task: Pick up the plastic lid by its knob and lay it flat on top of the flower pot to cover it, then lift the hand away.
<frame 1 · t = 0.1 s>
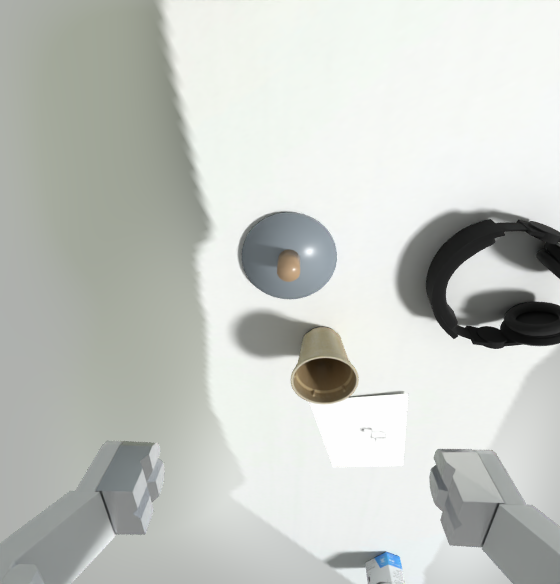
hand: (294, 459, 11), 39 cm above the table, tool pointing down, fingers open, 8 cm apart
paper sheet: (331, 431, 71), on the table
ink box: (381, 558, 97), on the table
flower pot: (321, 341, 58), on the table
lid: (289, 256, 51), on the table
headphones: (495, 275, 51), on the table
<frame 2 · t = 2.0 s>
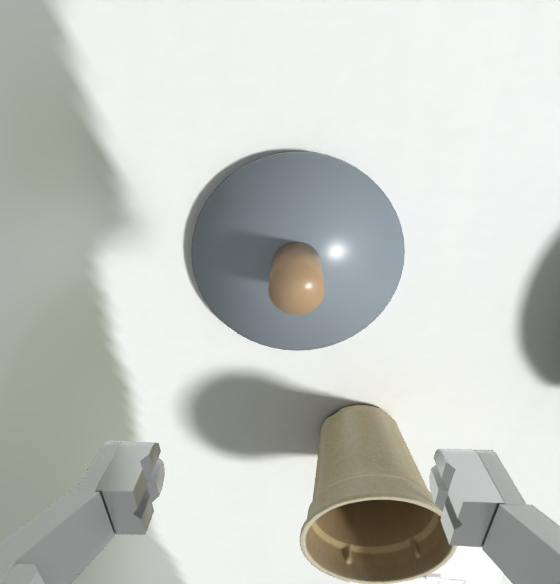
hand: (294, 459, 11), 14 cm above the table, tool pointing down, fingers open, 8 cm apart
paper sheet: (366, 573, 41), on the table
flower pot: (356, 429, 30), on the table
lid: (296, 258, 23), on the table
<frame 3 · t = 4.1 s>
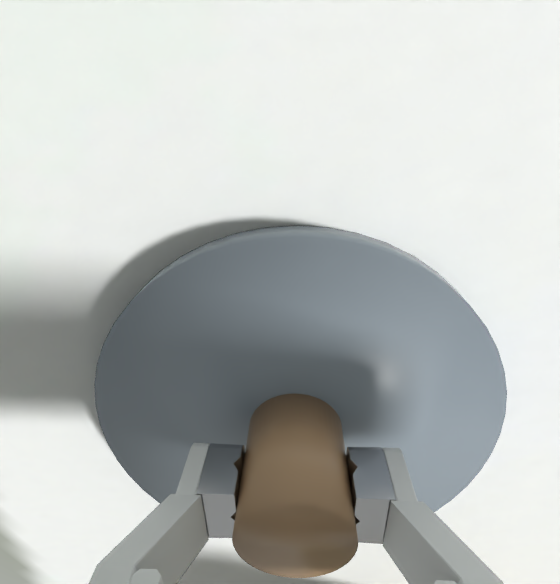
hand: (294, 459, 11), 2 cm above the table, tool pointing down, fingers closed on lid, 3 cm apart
lid: (295, 407, 13), on the table, touching gripper
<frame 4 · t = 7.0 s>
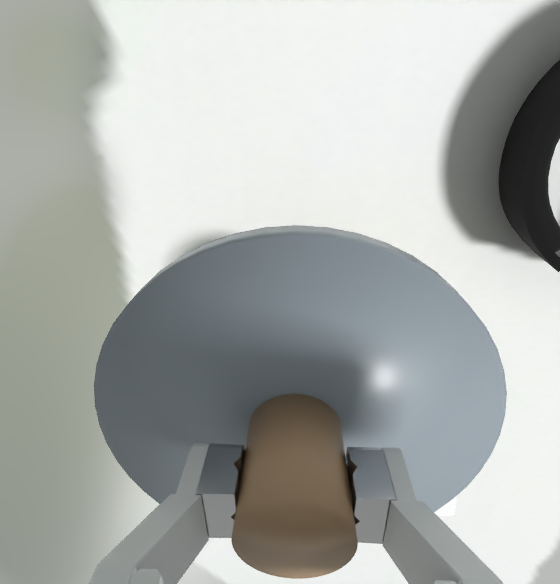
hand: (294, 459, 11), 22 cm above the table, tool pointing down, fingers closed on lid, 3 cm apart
paper sheet: (341, 460, 45), on the table
lid: (295, 407, 13), point 20 cm above the table, touching gripper
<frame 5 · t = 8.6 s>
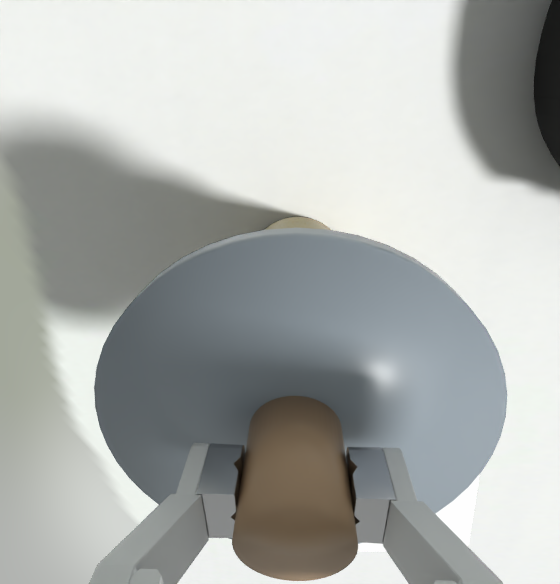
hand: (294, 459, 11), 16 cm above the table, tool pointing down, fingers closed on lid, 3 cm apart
paper sheet: (326, 481, 35), on the table
flower pot: (295, 260, 25), on the table
lid: (295, 409, 13), point 13 cm above the table, touching gripper
when the fingers open (12 cm above the table, at t = 9.9 s): lid drops 1 cm, resting on flower pot.
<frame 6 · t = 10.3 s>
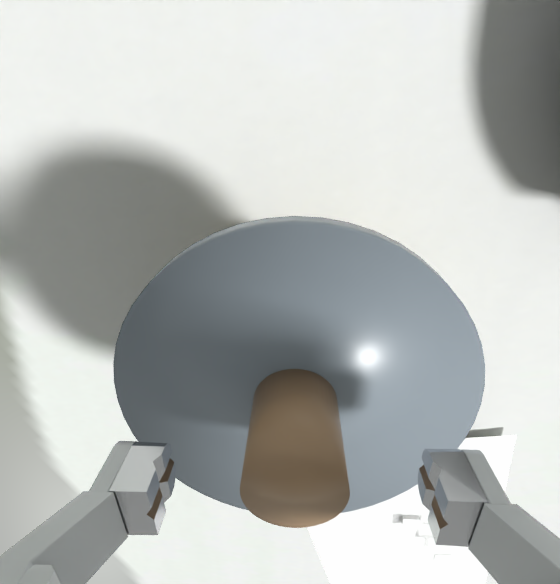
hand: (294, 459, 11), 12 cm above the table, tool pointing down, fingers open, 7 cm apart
paper sheet: (329, 520, 32), on the table
lid: (295, 383, 14), point 9 cm above the table, touching flower pot
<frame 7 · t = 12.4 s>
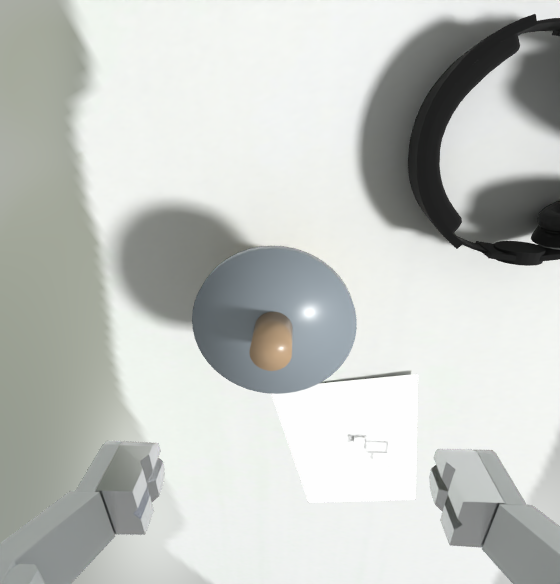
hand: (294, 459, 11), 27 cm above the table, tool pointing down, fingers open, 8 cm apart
paper sheet: (306, 443, 48), on the table
lid: (274, 322, 30), point 9 cm above the table, touching flower pot
headphones: (518, 150, 32), on the table
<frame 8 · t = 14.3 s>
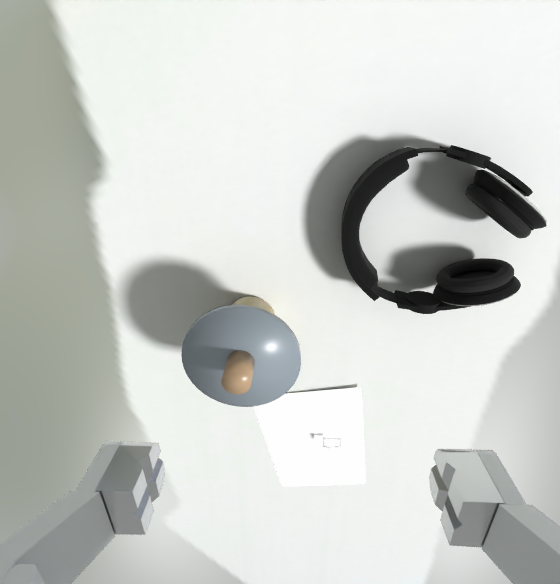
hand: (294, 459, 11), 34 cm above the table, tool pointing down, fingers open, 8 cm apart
paper sheet: (277, 439, 59), on the table
flower pot: (251, 315, 48), on the table, touching lid
lid: (242, 356, 41), point 9 cm above the table, touching flower pot
headphones: (424, 225, 42), on the table
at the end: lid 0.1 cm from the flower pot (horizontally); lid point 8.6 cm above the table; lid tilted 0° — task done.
